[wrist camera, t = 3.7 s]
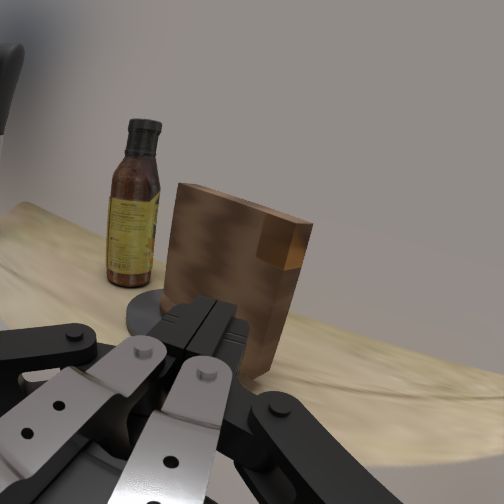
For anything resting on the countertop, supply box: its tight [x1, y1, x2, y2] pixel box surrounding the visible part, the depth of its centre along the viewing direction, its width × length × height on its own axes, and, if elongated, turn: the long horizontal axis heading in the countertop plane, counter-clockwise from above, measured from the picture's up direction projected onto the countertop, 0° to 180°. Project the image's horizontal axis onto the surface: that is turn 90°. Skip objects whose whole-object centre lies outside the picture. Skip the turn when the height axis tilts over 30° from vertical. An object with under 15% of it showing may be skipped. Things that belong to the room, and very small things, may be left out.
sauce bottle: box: [106, 118, 162, 287], centre depth 32 cm, size 6×6×20 cm
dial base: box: [126, 289, 164, 336], centre depth 28 cm, size 11×11×1 cm
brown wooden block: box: [159, 183, 313, 380], centre depth 23 cm, size 13×4×12 cm, turn 45°
